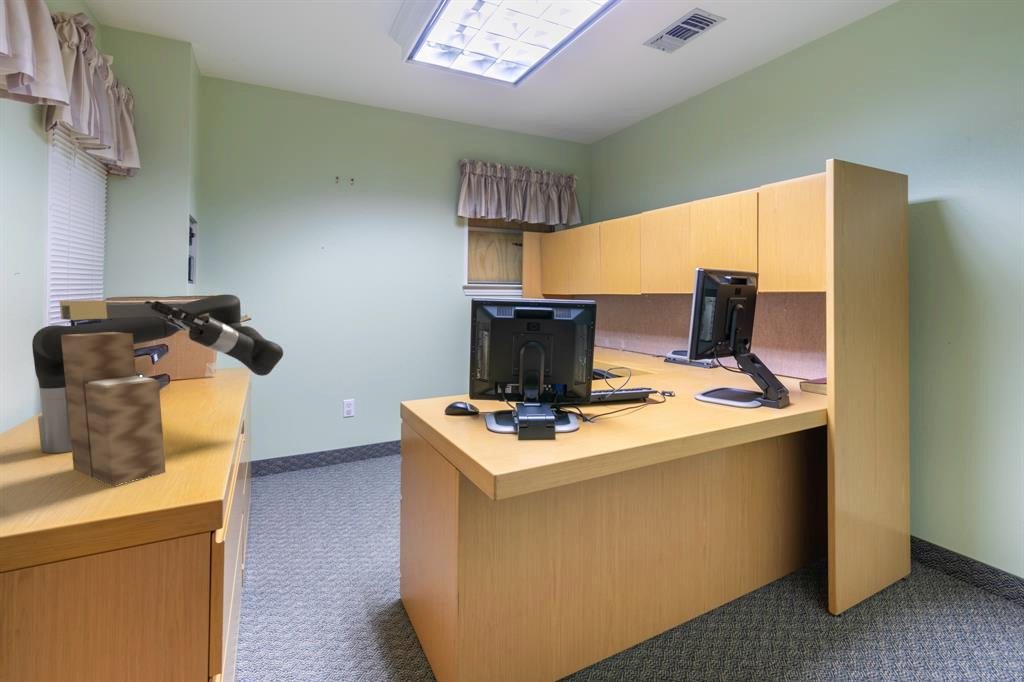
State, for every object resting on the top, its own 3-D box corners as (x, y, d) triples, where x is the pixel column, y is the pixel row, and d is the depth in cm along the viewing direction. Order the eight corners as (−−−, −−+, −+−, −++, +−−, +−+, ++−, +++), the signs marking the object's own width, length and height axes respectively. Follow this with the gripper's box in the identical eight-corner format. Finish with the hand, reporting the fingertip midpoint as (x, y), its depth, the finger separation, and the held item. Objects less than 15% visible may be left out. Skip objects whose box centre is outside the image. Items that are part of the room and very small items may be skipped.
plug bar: (72, 319, 102) (70, 300, 101) (61, 319, 104) (59, 300, 104) (185, 315, 121) (184, 299, 120) (173, 314, 124) (172, 299, 123)
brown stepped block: (113, 487, 102) (100, 338, 99) (73, 469, 113) (60, 335, 110) (165, 472, 111) (155, 335, 108) (124, 457, 122) (113, 332, 119)
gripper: (206, 321, 135) (142, 291, 121) (235, 322, 128) (171, 290, 114) (193, 345, 132) (127, 317, 118) (223, 348, 125) (155, 318, 111)
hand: (149, 304), depth 116 cm, fingers closed on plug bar, 4 cm apart
